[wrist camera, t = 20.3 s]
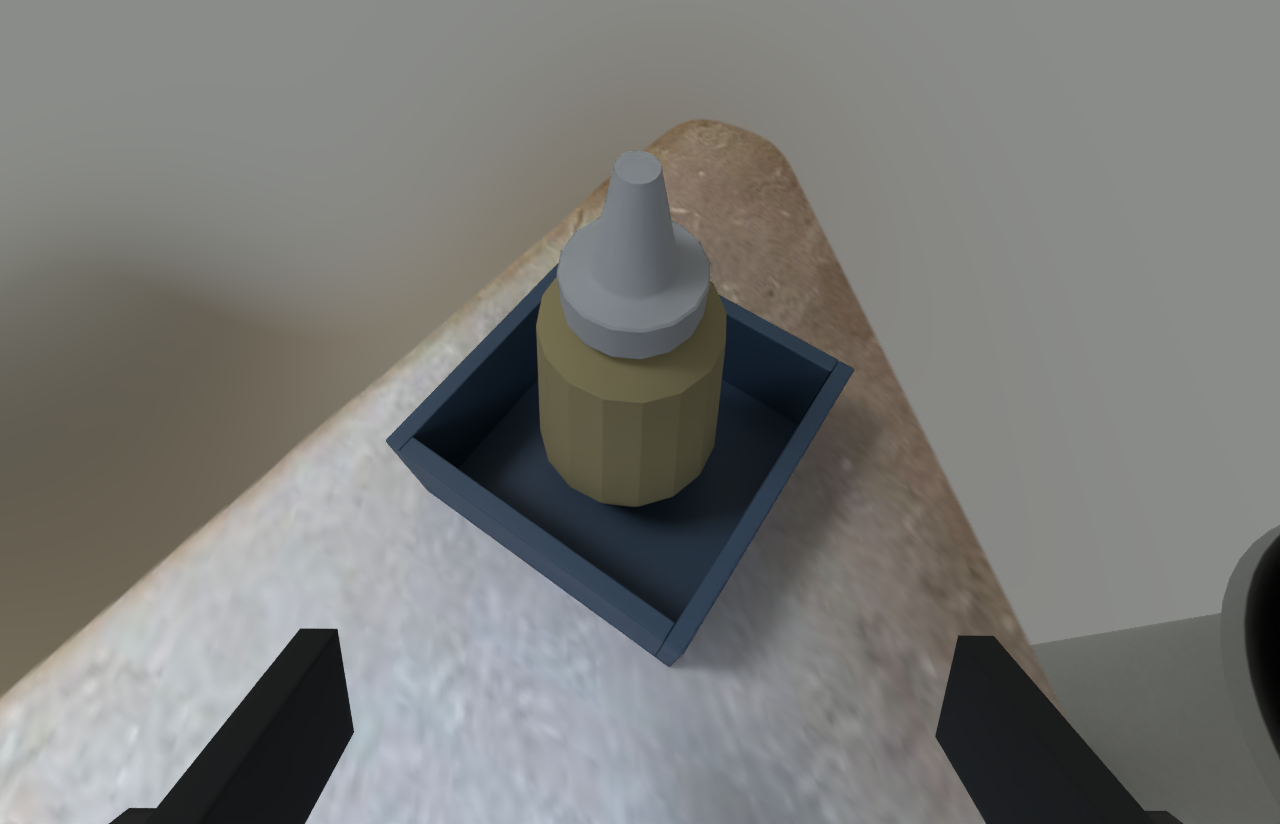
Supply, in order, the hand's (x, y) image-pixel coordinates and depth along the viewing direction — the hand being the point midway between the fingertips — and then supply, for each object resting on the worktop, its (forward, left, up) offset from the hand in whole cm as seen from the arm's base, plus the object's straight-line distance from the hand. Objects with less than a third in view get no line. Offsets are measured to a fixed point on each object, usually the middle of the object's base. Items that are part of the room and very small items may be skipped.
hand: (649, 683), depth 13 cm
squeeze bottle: (+7, -9, -14) cm, 18 cm away
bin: (+7, -9, -15) cm, 19 cm away
